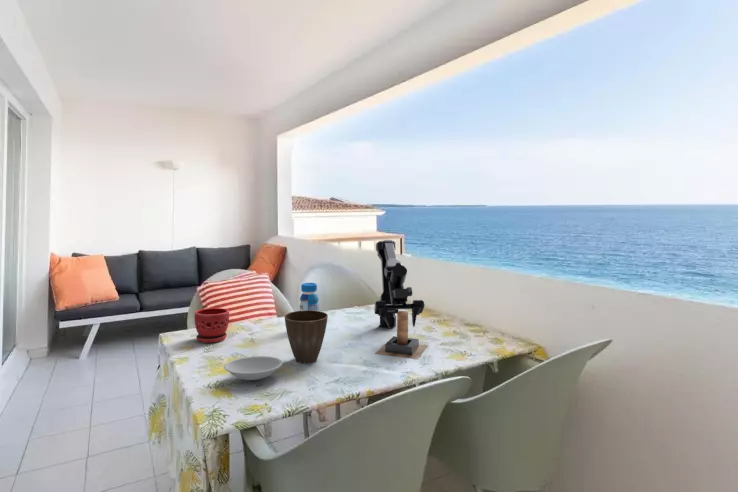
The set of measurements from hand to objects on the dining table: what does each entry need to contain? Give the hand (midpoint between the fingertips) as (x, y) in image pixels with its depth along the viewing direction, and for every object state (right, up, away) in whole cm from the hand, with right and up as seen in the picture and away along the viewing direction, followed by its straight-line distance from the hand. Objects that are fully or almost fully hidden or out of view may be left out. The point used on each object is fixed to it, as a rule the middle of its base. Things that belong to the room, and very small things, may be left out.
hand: (401, 326), depth 159 cm
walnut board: (0, -9, 0) cm, 9 cm away
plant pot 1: (-76, -8, +15) cm, 77 cm away
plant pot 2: (-34, -10, -9) cm, 37 cm away
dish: (-48, -12, -26) cm, 56 cm away
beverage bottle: (-39, -7, +30) cm, 50 cm away
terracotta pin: (0, -8, 0) cm, 8 cm away
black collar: (0, -8, 0) cm, 8 cm away
